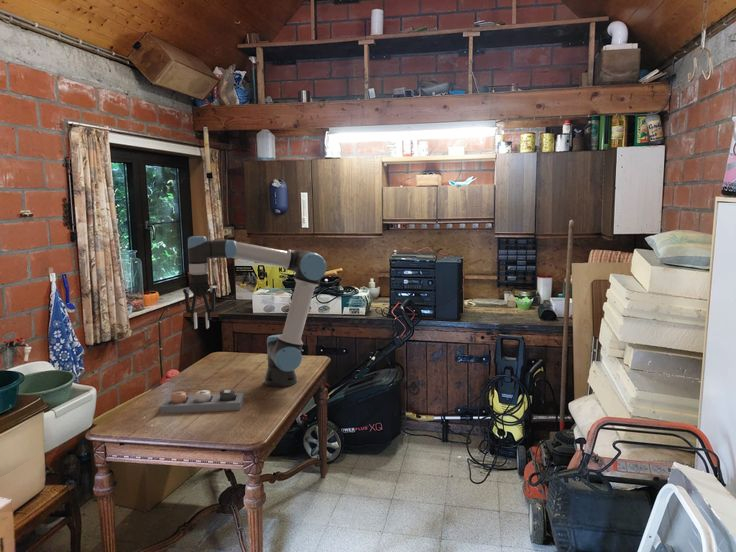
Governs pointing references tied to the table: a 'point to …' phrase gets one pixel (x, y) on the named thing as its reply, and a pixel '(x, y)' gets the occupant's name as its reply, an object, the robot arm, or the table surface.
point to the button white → (203, 396)
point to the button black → (227, 395)
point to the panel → (202, 404)
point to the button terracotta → (178, 397)
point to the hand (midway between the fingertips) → (201, 327)
